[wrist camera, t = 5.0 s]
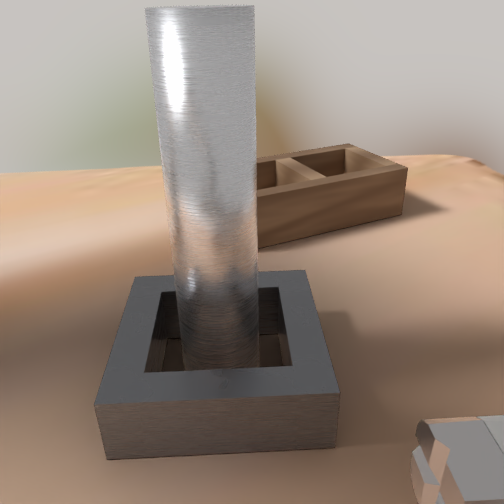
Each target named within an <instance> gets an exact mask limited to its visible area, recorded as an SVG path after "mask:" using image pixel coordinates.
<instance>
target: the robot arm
mask: <svg viewBox="0 0 504 504" xmlns="http://www.w3.org/2000/svg"><path fill="white" fill-rule="evenodd" d="M416 437H417V439H418V442H419V444H420V445H419V446H418V447H417V448H416V449H415V450H413V451H412V455H411V462H410V471H411V481H412V486H413V490H414V493H415V496H416V499H417V502H418V504H504V415H496V416H478V417H474V416H471V417H455V418H439V419H424V420H421V421H420V422H419V423H418V426H417V430H416Z"/></svg>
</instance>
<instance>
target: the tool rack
mask: <svg viewBox="0 0 504 504" xmlns="http://www.w3.org/2000/svg"><path fill="white" fill-rule="evenodd" d="M256 165H257V235H258V248H262V247H266V246H271V245H275V244H279V243H283V242H287V241H292V240H296V239H300V238H304V237H308V236H313V235H317V234H321V233H325V232H330V231H334V230H338V229H342V228H346V227H351V226H355V225H359V224H363V223H367V222H372V221H376V220H380V219H384V218H388V217H393V216H397V215H401V214H402V207H403V200H404V193H405V186H406V178H407V171H408V168H407V167H405V166H402V165H400V164H397V163H395V162H392V161H390V160H388V159H385V158H383V157H380V156H378V155H375V154H373V153H370V152H368V151H365V150H363V149H361V148H358V147H356V146H353V145H351V144H343V145H336V146H331V147H324V148H318V149H311V150H305V151H299V152H293V153H287V154H280V155H274V156H268V157H262V158H256Z"/></svg>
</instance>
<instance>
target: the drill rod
mask: <svg viewBox="0 0 504 504" xmlns="http://www.w3.org/2000/svg"><path fill="white" fill-rule="evenodd" d="M145 15H146V25H147V34H148V43H149V52H150V61H151V70H152V79H153V88H154V97H155V106H156V114H157V115H156V116H157V124H158V134H159V142H160V151H161V161H162V170H163V179H164V188H165V197H166V206H167V216H168V225H169V234H170V243H171V252H172V261H173V270H174V279H175V288H176V297H177V306H178V316H179V325H180V334H181V343H182V352H183V361H184V370H185V371H194V370H216V369H237V368H259V304H258V235H257V165H256V100H255V99H256V97H255V32H254V31H255V29H254V5H210V6H209V5H208V6H173V7H172V6H170V7H151V8H145Z"/></svg>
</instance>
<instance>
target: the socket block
mask: <svg viewBox="0 0 504 504" xmlns="http://www.w3.org/2000/svg"><path fill="white" fill-rule="evenodd" d="M258 304H259V334H278V336H279V342H280V349H281V355H282V362H283V366H280V367H259V368H237V369H216V370H194V371H173V372H162V367H163V361H164V356H165V350H166V344H167V339H168V338H181V334H180V325H179V316H178V306H177V297H176V288H175V279H174V275H168V276H143V277H135V279H134V282H133V285H132V288H131V291H130V294H129V297H128V301H127V304H126V307H125V310H124V313H123V316H122V319H121V322H120V325H119V328H118V332H117V335H116V338H115V341H114V344H113V347H112V350H111V353H110V356H109V359H108V363H107V366H106V369H105V372H104V375H103V378H102V381H101V384H100V387H99V391H98V394H97V397H96V400H95V403H94V407H95V411H96V415H97V420H98V424H99V428H100V432H101V437H102V441H103V445H104V449H105V454H106V458H107V460H108V459H127V458H146V457H165V456H185V455H204V454H223V453H242V452H261V451H280V450H299V449H319V448H335V443H336V432H337V421H338V410H339V399H340V391H339V387H338V384H337V380H336V377H335V373H334V370H333V366H332V363H331V359H330V356H329V352H328V349H327V345H326V342H325V338H324V335H323V331H322V328H321V324H320V321H319V317H318V314H317V310H316V307H315V303H314V300H313V296H312V293H311V289H310V286H309V282H308V279H307V275H306V272H305V270H293V271H268V272H258Z"/></svg>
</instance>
